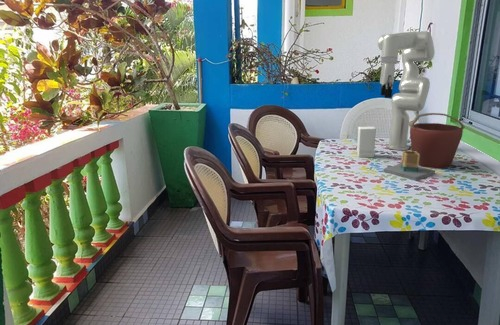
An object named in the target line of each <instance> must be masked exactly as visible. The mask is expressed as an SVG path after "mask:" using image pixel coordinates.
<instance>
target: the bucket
mask: <svg viewBox="0 0 500 325" xmlns="http://www.w3.org/2000/svg"><path fill="white" fill-rule="evenodd" d="M425 116H426V117H427V116H445V117H447V118H450V119H452V120H454V121H456V122H457V123H458V124H459V125H460V126H461V127H459V126H458V125H453V124H444V123H439V122H433V123H431V122H426V123H425V122H422V123H421V122H419V123H417V122H418V120H419V118H420V117H425ZM408 124H409V134H410V135H409V138H410V146H411V151H416V152H418V153H419V154H420V157H419V166H418V167H422V168H427V169H435V170H436V169H437V170H439V169H440V170H441V169H446V168H450V167H451V166H452V164H453V161H454V158H455V156H456V154H457V151H458V148H459V145H460V142H461V140H462V139H463V133H464V131H463V130H464V129H465V127H466V126H465V125H464V123H462V122H461V120H459V119H457V118H455V117H453V116H451V115H449V114H446V113H439V112H428V113H419V114H417V115H416V116H415V118H414V119H413V120H411V121H410V120H409V123H408Z"/></svg>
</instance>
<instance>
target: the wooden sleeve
mask: <svg viewBox="0 0 500 325" xmlns="http://www.w3.org/2000/svg"><path fill="white" fill-rule="evenodd" d="M401 151H402V152H401V160H400V161H401V162H400V164H401V169H402V170H403V171H410V172H418V167H420V166H419V157H420V154H419V153H418V152H416V151H412V150H401Z"/></svg>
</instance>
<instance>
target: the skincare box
mask: <svg viewBox="0 0 500 325" xmlns="http://www.w3.org/2000/svg"><path fill="white" fill-rule="evenodd" d="M357 129H358V130H357V144H356V145H357V147H356V155H357V157H358V158H375V149H376V148H375V147H376V133H377V132H376V131H377V129H376V127H375V126H358V128H357Z"/></svg>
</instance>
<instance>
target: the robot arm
mask: <svg viewBox="0 0 500 325" xmlns="http://www.w3.org/2000/svg"><path fill="white" fill-rule="evenodd" d="M377 47H378V49H379V50H380V51H381V58H380V65H381V71H380V77H379V78H380V79H379V84H380V85H381V90H380V95H381V96H384V98H386V99H387V98H388V99H389V98H391V120H390V122H391V123H390V132H389V141H388V142H389V143H388V144H386V145H385V147H386V148H387V149H389V150H395V151H409V149H410V146H409V145H408V144H411V139H408V138H409V137H408V135H409V129H410V126H409V124H408V123H409V122H410V116H409V114H408V113H407V111H410V112H420V111H423V109H424V108H425V106H426V101H427V98H428V95H429V91H430V87H431V86H430V85H431V82H430V79H429V78H428V77H425V76H419V74H420V69H419V67H418V66H417V64H416V63H415V62H430V61H432V60H433V59H434V57H435V45H434V41H433V37H432V34H431V33H430V31H421V30H420V31H408V32H406V31H405V32H396V33H390V34H389V33H387V34H381V35H380V36H379V37H378V40H377ZM399 51H401V63H402V68H403V70H402V75H401V78H400V82H399V85H398V90H399V92H398V93H397V92H396V93H394V94H393V85H394V82H395V81H394V80H395V69H396V68H395V67H396V65H397V64H398V58H399Z"/></svg>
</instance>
